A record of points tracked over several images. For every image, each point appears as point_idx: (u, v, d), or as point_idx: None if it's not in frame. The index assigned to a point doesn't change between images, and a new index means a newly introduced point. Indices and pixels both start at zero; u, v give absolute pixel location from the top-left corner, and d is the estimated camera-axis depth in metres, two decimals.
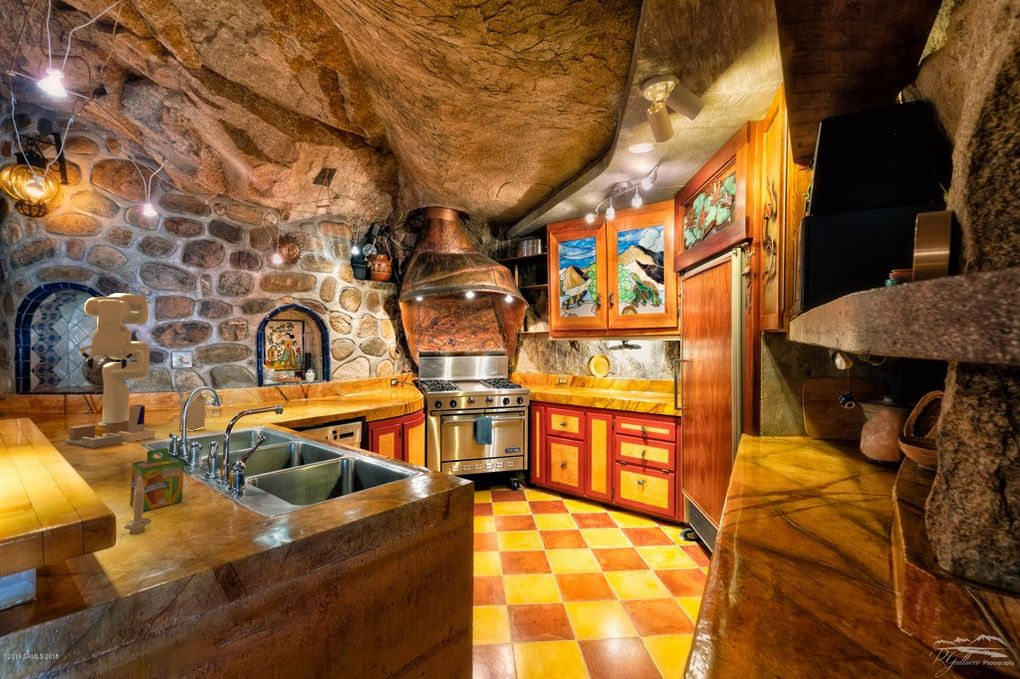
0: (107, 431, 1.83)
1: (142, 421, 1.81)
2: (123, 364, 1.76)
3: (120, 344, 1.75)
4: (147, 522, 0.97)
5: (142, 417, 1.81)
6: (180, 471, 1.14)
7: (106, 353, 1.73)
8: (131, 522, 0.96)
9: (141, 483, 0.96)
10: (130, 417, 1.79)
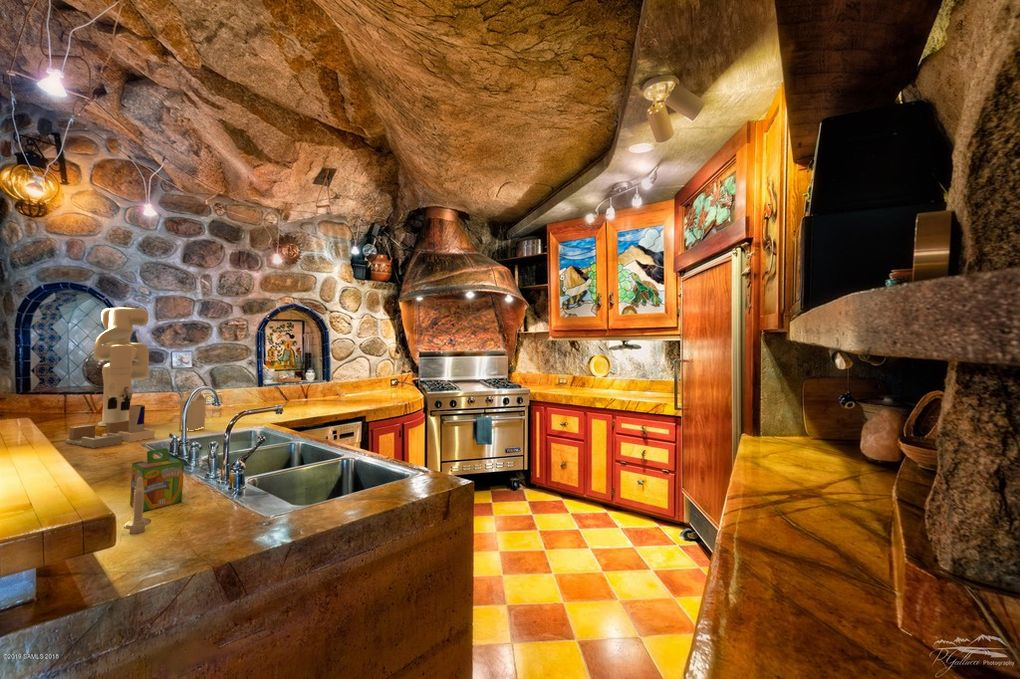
0: (107, 431, 1.83)
1: (142, 421, 1.81)
2: (116, 404, 1.89)
3: None
4: (147, 522, 0.97)
5: (142, 417, 1.81)
6: (180, 471, 1.14)
7: None
8: (131, 522, 0.96)
9: (141, 483, 0.96)
10: (130, 417, 1.79)
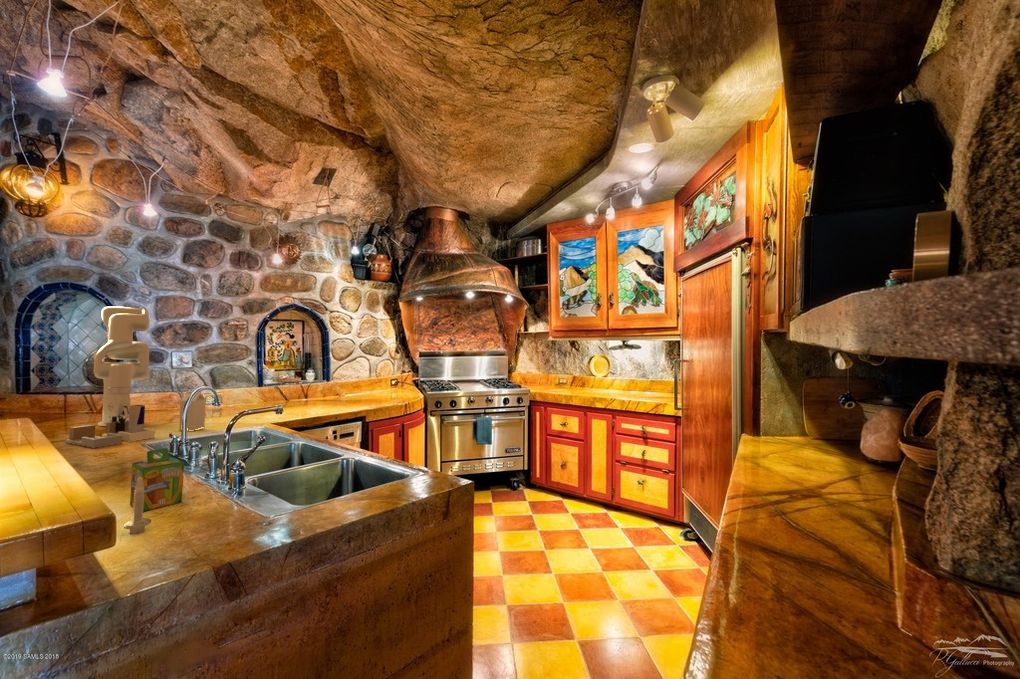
0: (107, 431, 1.83)
1: (142, 421, 1.81)
2: None
3: None
4: (147, 522, 0.97)
5: (142, 417, 1.81)
6: (180, 471, 1.14)
7: None
8: (131, 522, 0.96)
9: (141, 483, 0.96)
10: (130, 417, 1.79)
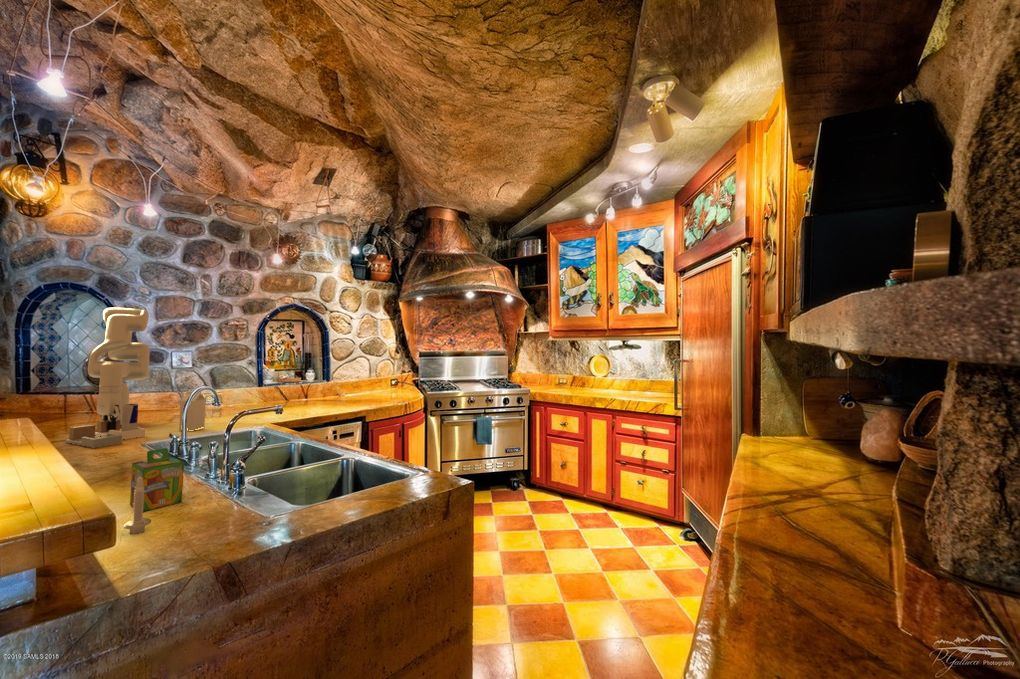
0: (98, 429, 1.85)
1: (135, 420, 1.83)
2: None
3: None
4: (147, 522, 0.97)
5: (135, 416, 1.83)
6: (180, 471, 1.14)
7: None
8: (131, 522, 0.96)
9: (141, 483, 0.96)
10: (123, 416, 1.81)
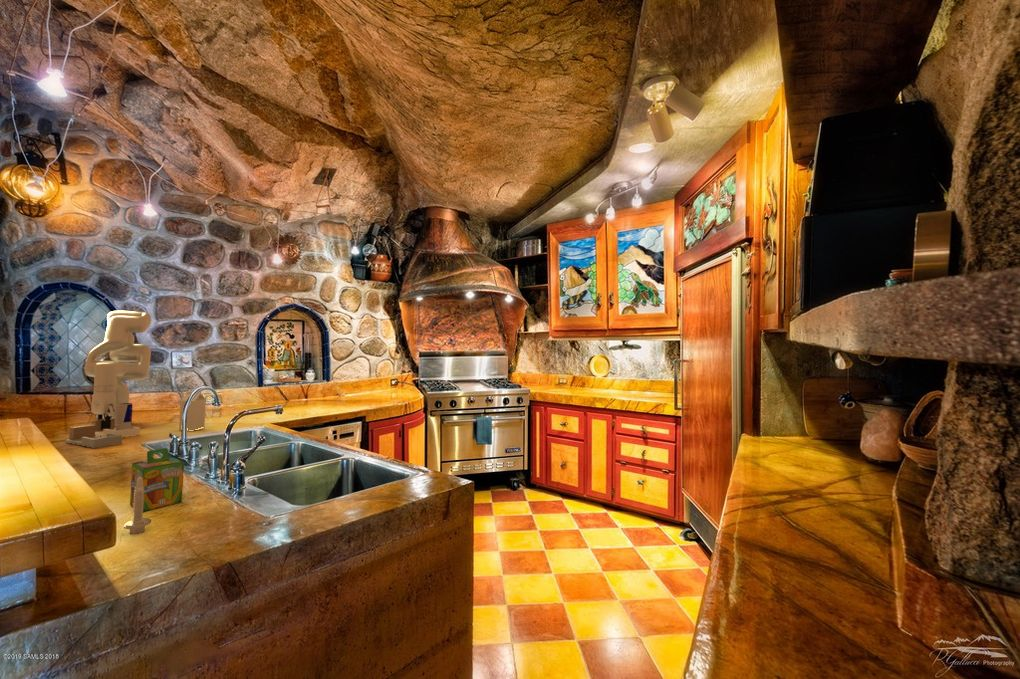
0: None
1: (129, 419, 1.85)
2: None
3: None
4: (147, 522, 0.97)
5: (129, 415, 1.85)
6: (180, 471, 1.14)
7: None
8: (131, 522, 0.96)
9: (141, 483, 0.96)
10: (117, 415, 1.82)
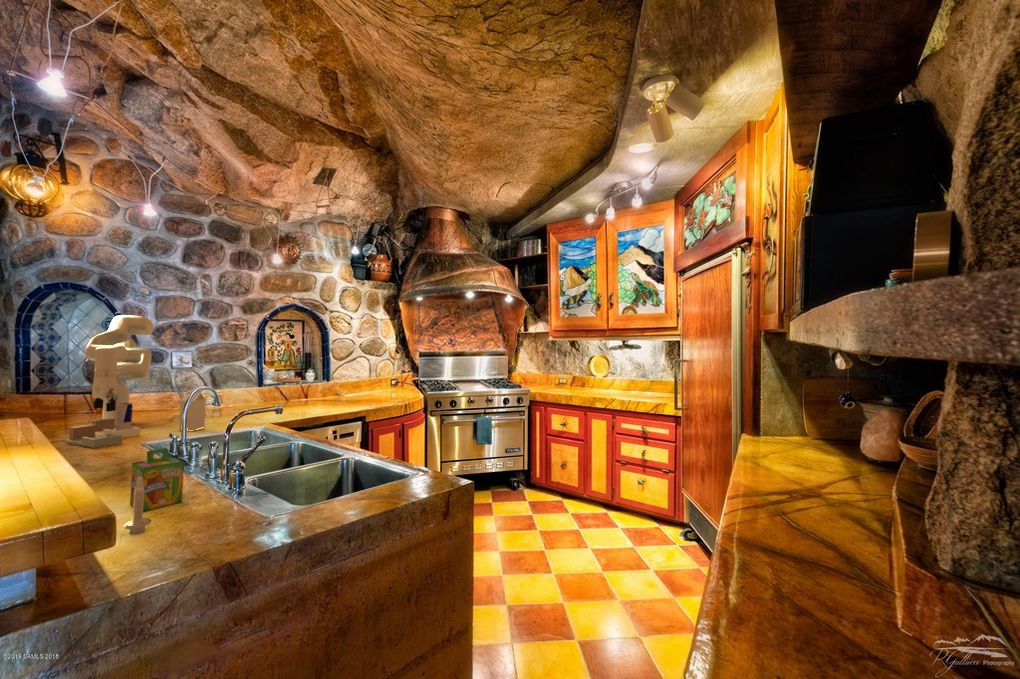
0: None
1: (129, 419, 1.85)
2: (102, 403, 1.94)
3: None
4: (147, 522, 0.97)
5: (129, 415, 1.85)
6: (180, 471, 1.14)
7: None
8: (131, 522, 0.96)
9: (141, 483, 0.96)
10: (117, 415, 1.82)
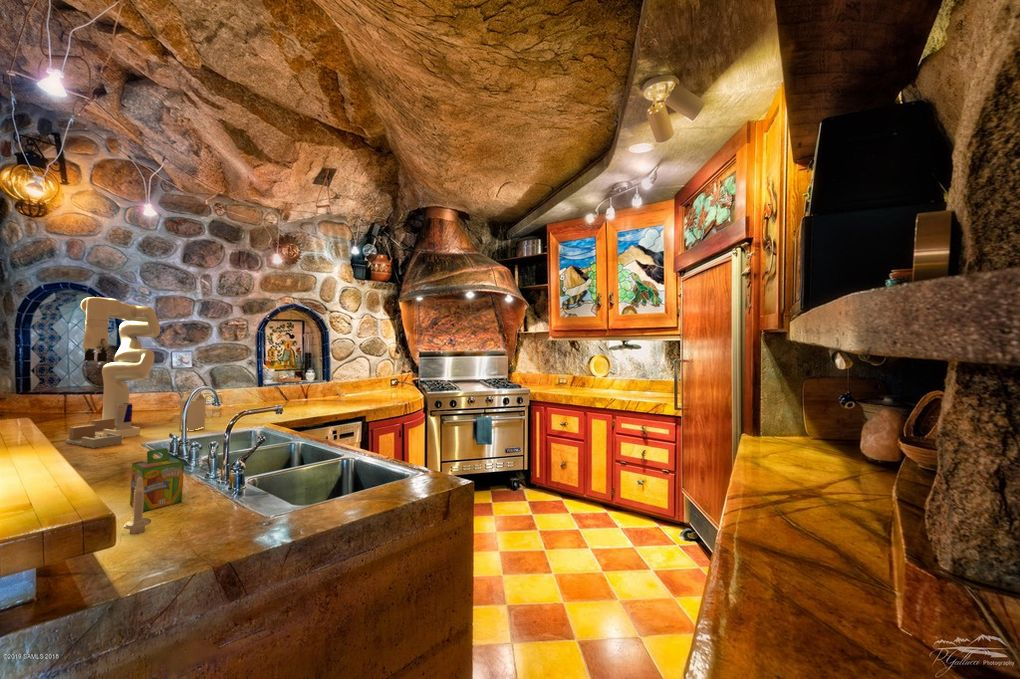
0: None
1: (129, 419, 1.85)
2: None
3: None
4: (147, 522, 0.97)
5: (129, 415, 1.85)
6: (180, 471, 1.14)
7: None
8: (131, 522, 0.96)
9: (141, 483, 0.96)
10: (117, 415, 1.82)
